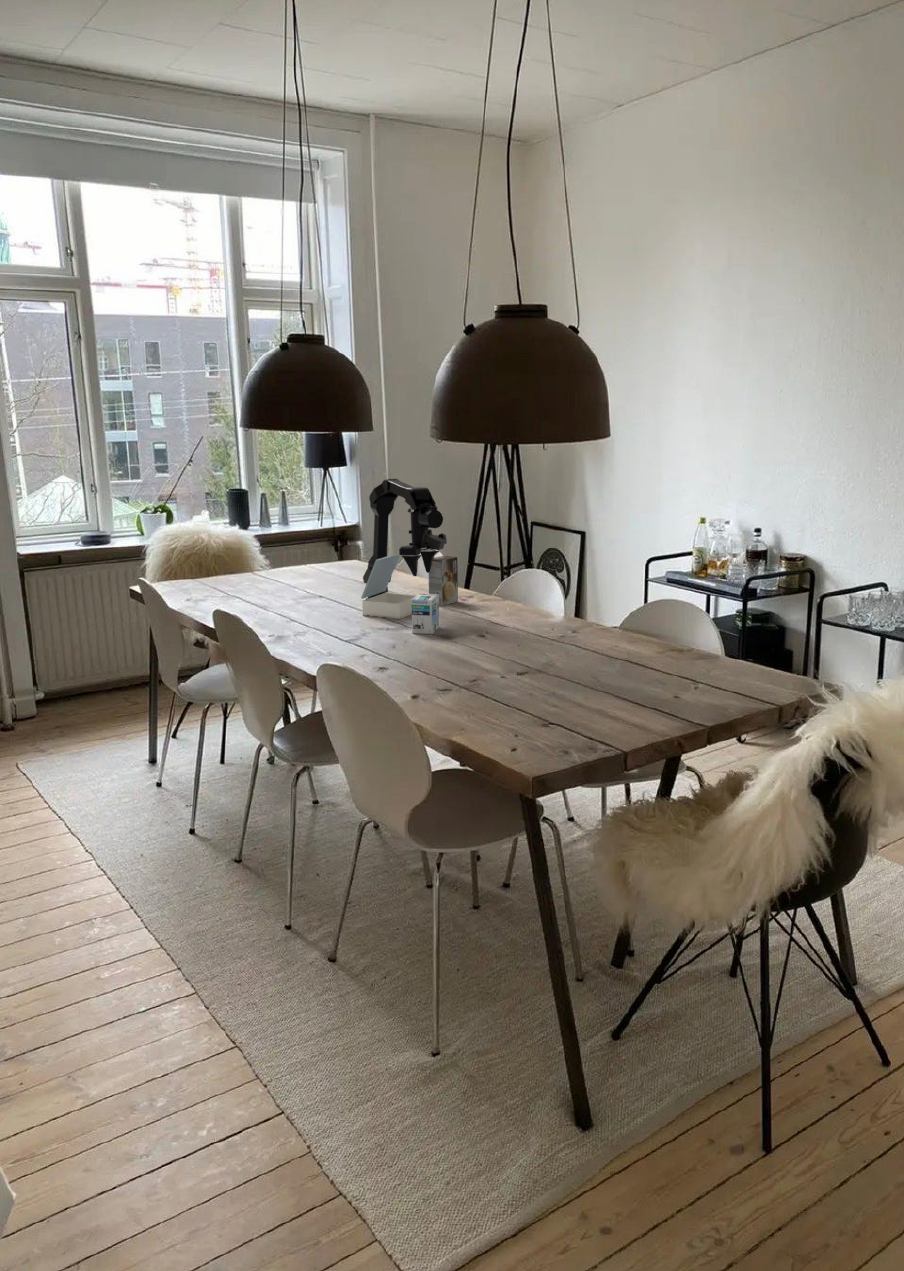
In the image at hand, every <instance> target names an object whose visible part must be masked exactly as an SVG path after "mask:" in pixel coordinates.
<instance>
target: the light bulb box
mask: <svg viewBox="0 0 904 1271" xmlns="http://www.w3.org/2000/svg"><path fill="white" fill-rule="evenodd" d="M416 595H417V596H415V597H414V598H413V599H412V600H411V602H412V614H411V633H412V634H423V635H433V634H434V633H436V631H437V630H438V629H439V628H440V605H439V594H429V593H425V592H423V593H422V592H421V593H420V592H418V594H416Z"/></svg>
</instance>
